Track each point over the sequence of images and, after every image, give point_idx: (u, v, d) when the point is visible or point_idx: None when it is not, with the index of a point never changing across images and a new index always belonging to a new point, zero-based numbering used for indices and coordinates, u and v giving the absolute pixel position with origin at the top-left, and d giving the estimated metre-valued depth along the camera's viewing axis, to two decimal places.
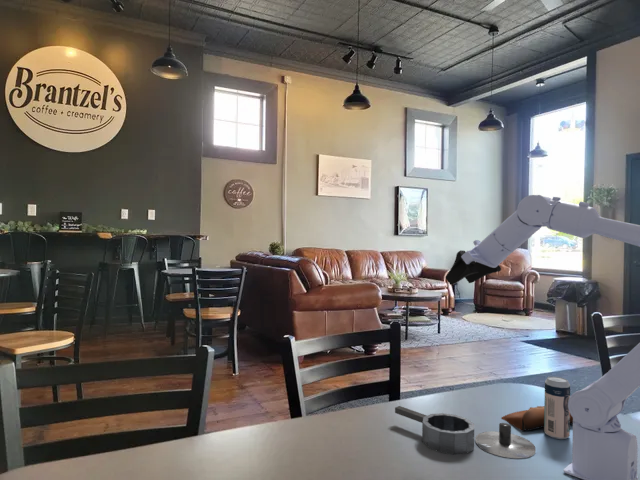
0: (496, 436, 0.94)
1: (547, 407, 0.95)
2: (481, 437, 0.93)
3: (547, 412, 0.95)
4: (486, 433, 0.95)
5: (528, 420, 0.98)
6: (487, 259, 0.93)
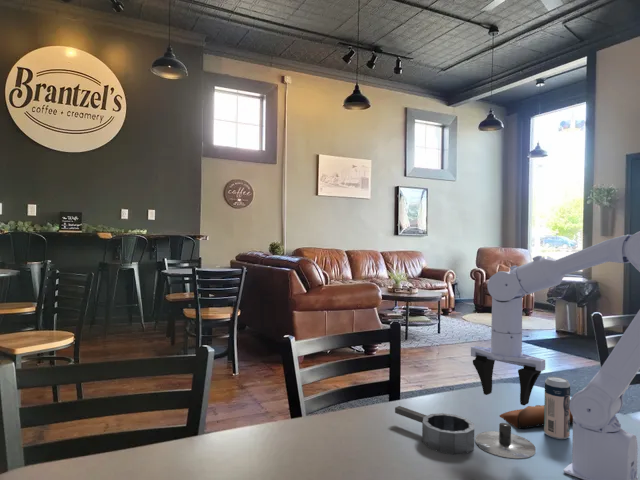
0: (496, 436, 0.94)
1: (547, 407, 0.95)
2: (481, 437, 0.93)
3: (547, 412, 0.95)
4: (486, 433, 0.96)
5: (523, 418, 0.99)
6: (521, 353, 0.90)
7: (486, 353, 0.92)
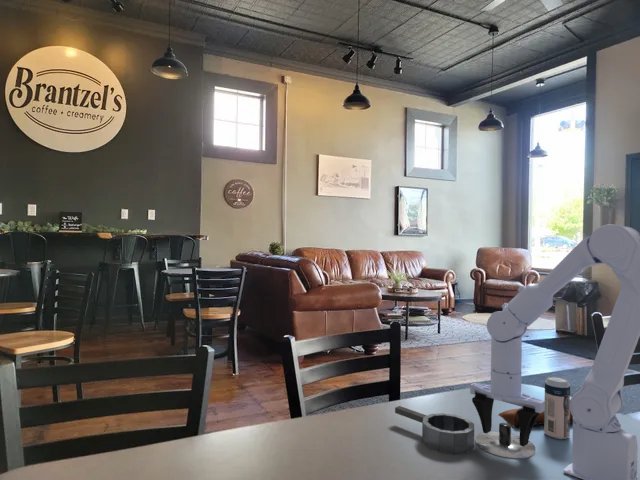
0: (496, 436, 0.94)
1: (547, 407, 0.95)
2: (481, 437, 0.94)
3: (547, 412, 0.95)
4: (486, 433, 0.96)
5: None
6: None
7: (485, 392, 0.92)
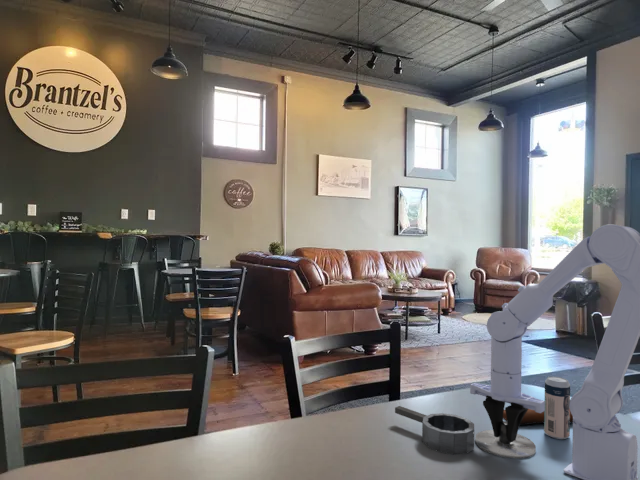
0: None
1: (547, 407, 0.95)
2: (481, 435, 0.93)
3: (547, 412, 0.95)
4: (486, 431, 0.95)
5: None
6: None
7: (485, 392, 0.92)
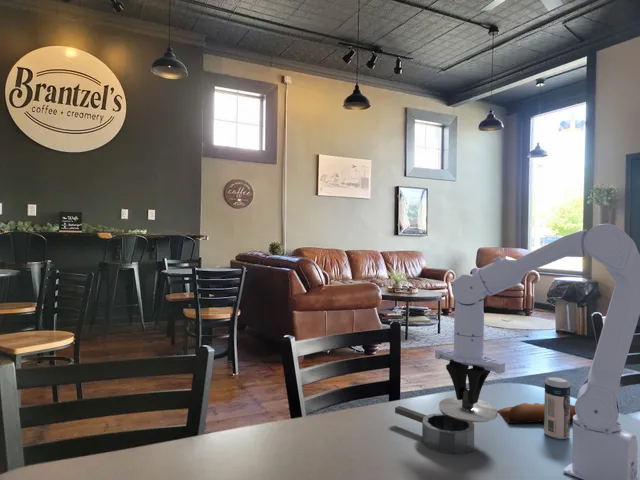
0: (461, 401, 0.95)
1: (547, 407, 0.95)
2: (445, 401, 0.94)
3: (547, 412, 0.95)
4: (452, 398, 0.96)
5: (515, 414, 1.02)
6: None
7: (448, 355, 0.93)
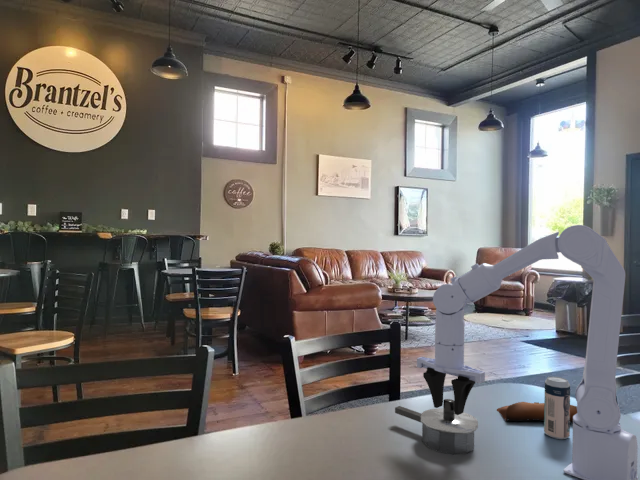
0: (443, 412, 0.95)
1: (547, 407, 0.95)
2: (427, 413, 0.95)
3: (547, 412, 0.96)
4: (434, 410, 0.96)
5: (512, 412, 1.03)
6: None
7: (430, 364, 0.93)
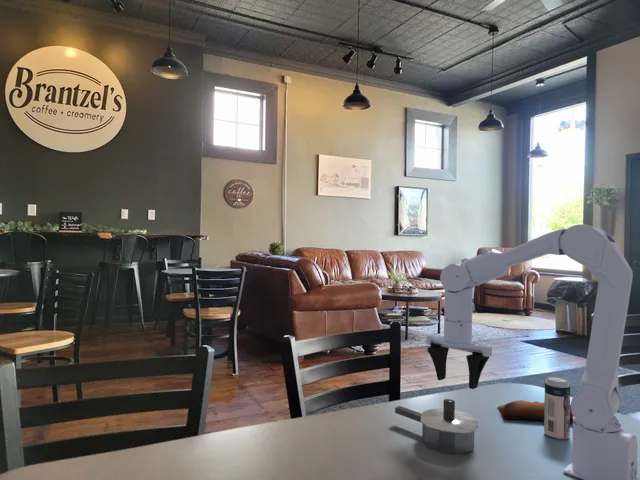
0: (443, 412, 0.95)
1: (547, 407, 0.95)
2: (427, 413, 0.95)
3: (547, 412, 0.95)
4: (434, 410, 0.96)
5: (509, 410, 1.04)
6: (471, 340, 0.96)
7: (439, 341, 0.98)
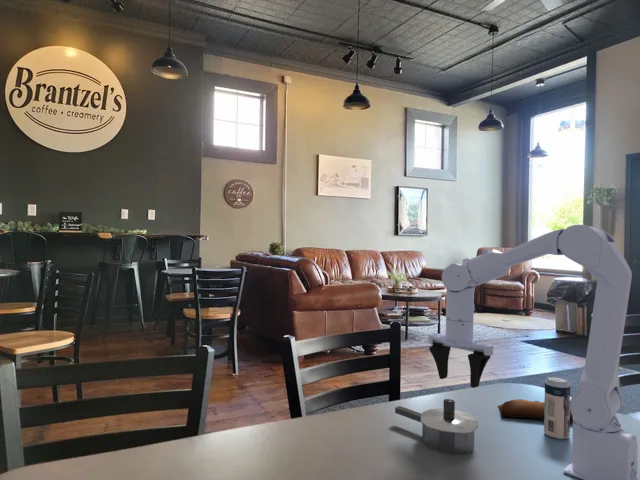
0: (443, 412, 0.95)
1: (547, 407, 0.95)
2: (427, 413, 0.95)
3: (547, 412, 0.95)
4: (434, 410, 0.96)
5: (507, 408, 1.05)
6: None
7: (441, 340, 0.99)
